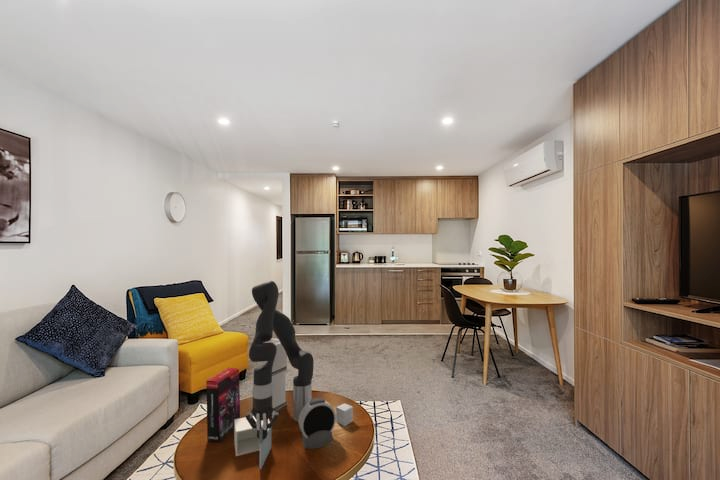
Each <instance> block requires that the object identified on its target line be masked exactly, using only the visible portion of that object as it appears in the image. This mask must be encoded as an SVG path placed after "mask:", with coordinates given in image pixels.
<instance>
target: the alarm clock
mask: <svg viewBox="0 0 720 480" xmlns="http://www.w3.org/2000/svg"><path fill="white" fill-rule="evenodd" d="M312 399H313V400H311V401H310V402H309V403H307V404H306V405H305V406H304V407H303V409H302V410H301V412H300V415H299V420H298V421H297V422H298V427H299V430H300V431H301V434H302V437H301V442H302V444H303V446H304V447H305V449H306V450H311V449H312V450H313V449H319V448H322V447H325V446H327V445H330V444H332V443H333V442H334V437H333V433H332V431H333V430H334V428H335V426H336V423H337V422H336V411H335V409H334V408H333V407H332V406H331V404H330V403H329V402H328V401H327V400H325V399H324V398H323V397H316V398H312Z"/></svg>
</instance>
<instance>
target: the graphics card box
mask: <svg viewBox="0 0 720 480" xmlns="http://www.w3.org/2000/svg"><path fill="white" fill-rule="evenodd" d="M205 385H206V388H205V389H206V433H207V434H206V436H207V437H206V438H207V439H206V440H207V441H208V442H212V443H213V442H214V443H220V442H222V441H223V439H225V438H226V437H227V436H228V435H229V434H230V433H231V432H232V431H234V419H239V418H241V407H240V406H241V402H240V401H241V398H240V397H241V396H240V369H239V368H235V367H227V368H226V369H224V370H222V371H221V372H219V373H217V374H216V375H214V376H213V377H211V378H209V379H207V380H206V384H205Z"/></svg>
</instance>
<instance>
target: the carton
mask: <svg viewBox="0 0 720 480" xmlns="http://www.w3.org/2000/svg"><path fill="white" fill-rule="evenodd" d="M253 418H254V420H255V421H256V419H255V417H254V416H253ZM269 418H270V417H269ZM269 418H268V423H270V422H271V420H270V419H269ZM262 424H263V421H261V426H262ZM233 431H234V434H233V435H234V436H233V437H234V438H233V441H234V443H233V445H234V451H235V457H238V456H242V455H248V454H250V453H254V452H255V453H256V452H258V451H259V438H257V429H255V428H254V429H253V428H252V427H251V425H250V424H249V422H248V421H247V419H246V416H245V417H240V418H239V419H234V429H233Z"/></svg>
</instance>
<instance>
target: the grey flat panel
mask: <svg viewBox="0 0 720 480" xmlns="http://www.w3.org/2000/svg"><path fill="white" fill-rule="evenodd" d="M271 449H272V427H271V428H268V435H267V437H266V438H265V439H263V424H262V426H261V428H260V429H259V464H258V465H259V470H262V468H263V467H264V464H265V462H266V460H267V457H268V456H269V454H270V451H271Z"/></svg>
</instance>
